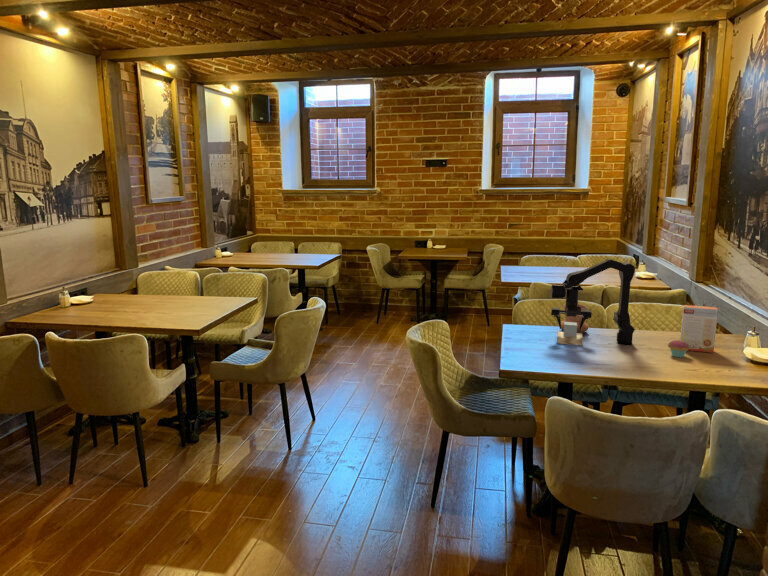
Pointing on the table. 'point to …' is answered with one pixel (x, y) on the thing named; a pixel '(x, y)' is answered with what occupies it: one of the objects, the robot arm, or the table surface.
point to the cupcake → (678, 347)
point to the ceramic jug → (575, 320)
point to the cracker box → (699, 327)
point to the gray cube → (570, 329)
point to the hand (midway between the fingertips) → (570, 329)
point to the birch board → (569, 339)
